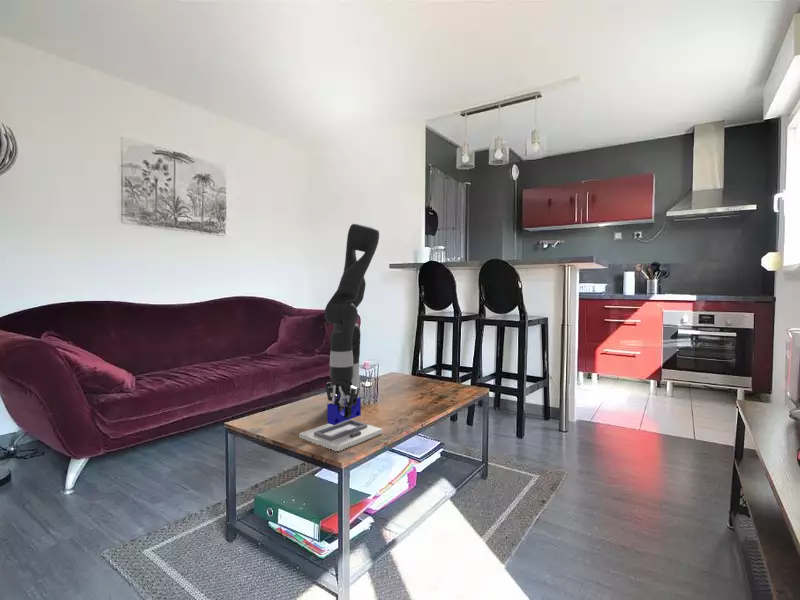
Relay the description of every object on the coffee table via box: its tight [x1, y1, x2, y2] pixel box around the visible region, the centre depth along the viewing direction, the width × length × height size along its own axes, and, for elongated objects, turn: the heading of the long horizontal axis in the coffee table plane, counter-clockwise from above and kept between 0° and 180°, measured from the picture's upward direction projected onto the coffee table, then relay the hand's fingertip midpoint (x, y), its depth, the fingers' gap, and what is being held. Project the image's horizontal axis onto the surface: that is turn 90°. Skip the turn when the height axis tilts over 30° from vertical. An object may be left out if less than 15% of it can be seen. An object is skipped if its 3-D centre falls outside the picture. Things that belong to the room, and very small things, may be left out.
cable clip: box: [326, 396, 362, 425], centre depth 138 cm, size 12×4×6 cm, turn 141°
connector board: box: [298, 419, 383, 452], centre depth 138 cm, size 18×20×2 cm
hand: (342, 415), depth 137 cm, fingers closed on cable clip, 4 cm apart
